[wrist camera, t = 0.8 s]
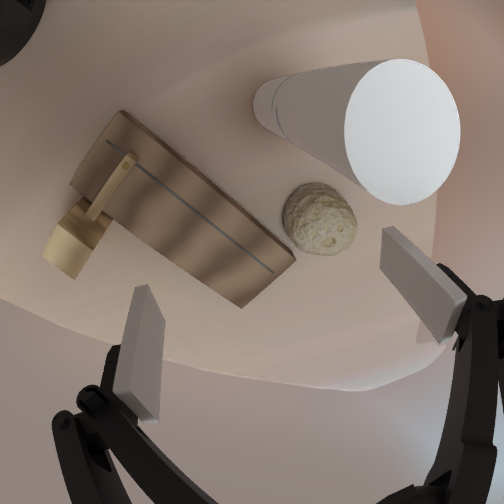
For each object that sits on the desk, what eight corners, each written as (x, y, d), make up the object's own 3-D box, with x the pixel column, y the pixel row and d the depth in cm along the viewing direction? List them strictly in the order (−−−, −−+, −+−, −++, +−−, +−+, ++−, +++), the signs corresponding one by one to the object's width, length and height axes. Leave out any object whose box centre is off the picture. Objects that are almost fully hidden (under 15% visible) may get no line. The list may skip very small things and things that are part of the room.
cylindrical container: (259, 138, 34) (350, 218, 13) (247, 83, 31) (331, 58, 9) (313, 128, 35) (458, 193, 13) (304, 74, 31) (455, 64, 10)
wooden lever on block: (71, 219, 35) (41, 255, 27) (126, 138, 32) (99, 153, 23) (98, 239, 38) (74, 280, 29) (156, 162, 34) (139, 185, 25)
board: (76, 178, 33) (68, 184, 31) (124, 110, 30) (118, 111, 28) (239, 298, 46) (241, 309, 44) (291, 251, 43) (296, 260, 41)
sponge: (314, 229, 47) (369, 249, 40) (273, 255, 42) (333, 282, 35) (312, 173, 42) (374, 187, 35) (267, 192, 37) (336, 211, 30)
